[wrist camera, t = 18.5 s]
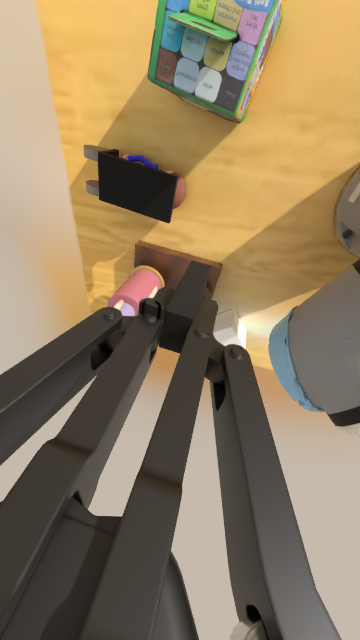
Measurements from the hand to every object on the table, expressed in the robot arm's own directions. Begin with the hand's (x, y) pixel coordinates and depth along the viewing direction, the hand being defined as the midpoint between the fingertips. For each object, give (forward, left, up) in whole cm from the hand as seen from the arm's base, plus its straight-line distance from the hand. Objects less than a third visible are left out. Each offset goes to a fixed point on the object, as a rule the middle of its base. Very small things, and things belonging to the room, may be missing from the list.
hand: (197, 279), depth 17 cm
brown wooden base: (+6, +15, -24) cm, 29 cm away
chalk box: (+5, -15, -25) cm, 29 cm away
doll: (+11, +15, -21) cm, 28 cm away
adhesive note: (-7, +22, -25) cm, 34 cm away
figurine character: (+14, -1, -25) cm, 28 cm away
